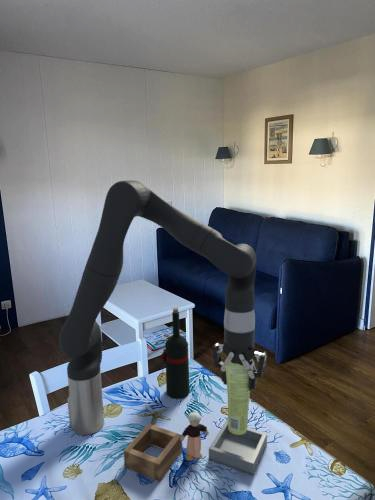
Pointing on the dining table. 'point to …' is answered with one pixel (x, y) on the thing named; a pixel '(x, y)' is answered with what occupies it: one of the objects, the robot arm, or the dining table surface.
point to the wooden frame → (149, 464)
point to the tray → (238, 449)
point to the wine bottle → (176, 362)
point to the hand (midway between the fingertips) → (238, 386)
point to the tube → (237, 397)
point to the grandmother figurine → (194, 436)
